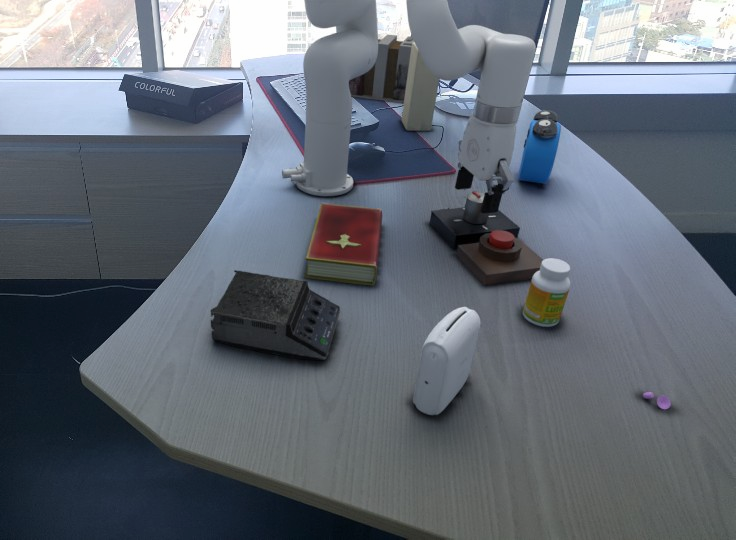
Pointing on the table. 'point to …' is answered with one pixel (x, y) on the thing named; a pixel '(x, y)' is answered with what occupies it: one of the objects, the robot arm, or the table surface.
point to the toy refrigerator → (419, 94)
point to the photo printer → (446, 360)
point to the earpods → (659, 400)
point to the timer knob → (474, 209)
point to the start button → (501, 239)
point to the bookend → (385, 72)
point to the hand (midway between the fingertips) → (475, 199)
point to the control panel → (468, 226)
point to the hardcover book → (345, 244)
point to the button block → (499, 261)
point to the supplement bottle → (547, 293)
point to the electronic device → (275, 317)
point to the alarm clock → (540, 148)
